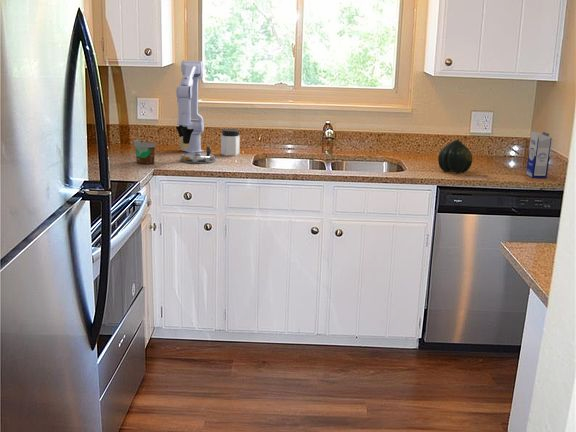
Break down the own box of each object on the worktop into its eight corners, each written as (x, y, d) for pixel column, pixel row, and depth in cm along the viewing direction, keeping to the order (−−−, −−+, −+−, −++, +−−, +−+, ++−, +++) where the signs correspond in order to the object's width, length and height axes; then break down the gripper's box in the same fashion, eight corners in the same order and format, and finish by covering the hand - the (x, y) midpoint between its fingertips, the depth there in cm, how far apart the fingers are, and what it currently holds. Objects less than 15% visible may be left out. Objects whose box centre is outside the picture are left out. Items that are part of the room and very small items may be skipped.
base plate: (174, 159, 305) (173, 158, 305) (202, 156, 315) (202, 155, 315) (192, 165, 294) (192, 164, 294) (222, 161, 304) (222, 160, 304)
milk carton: (525, 174, 297) (531, 130, 292) (540, 174, 297) (546, 130, 292) (532, 178, 290) (538, 132, 285) (546, 178, 290) (553, 133, 285)
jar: (242, 155, 321) (242, 130, 318) (228, 156, 316) (228, 131, 313) (232, 152, 328) (232, 128, 325) (218, 153, 323) (218, 129, 320)
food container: (128, 162, 296) (127, 140, 293) (139, 160, 300) (139, 138, 297) (144, 166, 288) (143, 143, 285) (156, 164, 292) (155, 142, 289)
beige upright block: (179, 147, 301) (178, 136, 299) (185, 147, 303) (185, 135, 301) (183, 148, 298) (182, 137, 297) (189, 148, 300) (189, 136, 299)
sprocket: (184, 155, 312) (184, 143, 310) (216, 156, 311) (216, 144, 310) (178, 161, 297) (178, 148, 296) (211, 162, 297) (211, 150, 295)
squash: (451, 164, 285) (469, 137, 288) (427, 159, 298) (444, 134, 300) (466, 183, 293) (484, 157, 296) (442, 178, 306) (459, 153, 308)
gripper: (198, 114, 292) (198, 144, 296) (187, 110, 304) (187, 139, 308) (183, 115, 289) (184, 145, 293) (172, 111, 301) (173, 140, 305)
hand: (184, 142), depth 300 cm, fingers open, 4 cm apart
